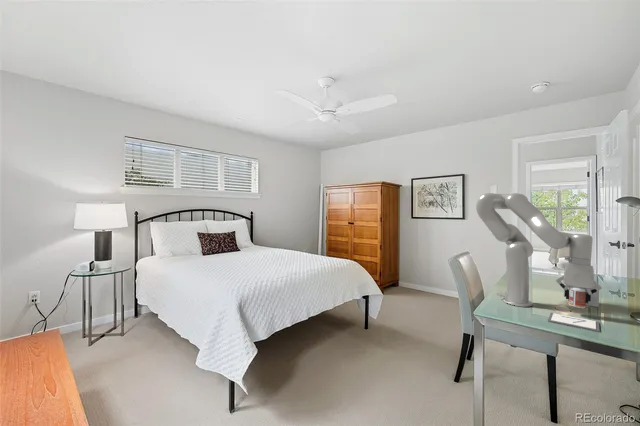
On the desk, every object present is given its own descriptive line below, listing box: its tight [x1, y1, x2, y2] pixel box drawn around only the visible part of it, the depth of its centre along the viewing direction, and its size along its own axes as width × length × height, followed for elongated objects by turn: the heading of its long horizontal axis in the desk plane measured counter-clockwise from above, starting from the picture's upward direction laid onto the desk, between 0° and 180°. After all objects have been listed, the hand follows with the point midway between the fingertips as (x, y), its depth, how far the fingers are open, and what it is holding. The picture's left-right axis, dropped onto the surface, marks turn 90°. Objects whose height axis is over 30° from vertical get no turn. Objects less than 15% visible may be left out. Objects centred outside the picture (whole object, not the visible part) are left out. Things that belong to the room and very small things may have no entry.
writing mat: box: [547, 312, 601, 333], centre depth 124 cm, size 16×13×1 cm
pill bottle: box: [567, 286, 587, 309], centre depth 132 cm, size 6×6×11 cm
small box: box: [586, 285, 600, 308], centre depth 147 cm, size 8×6×10 cm
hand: (576, 300), depth 132 cm, fingers closed on pill bottle, 6 cm apart
